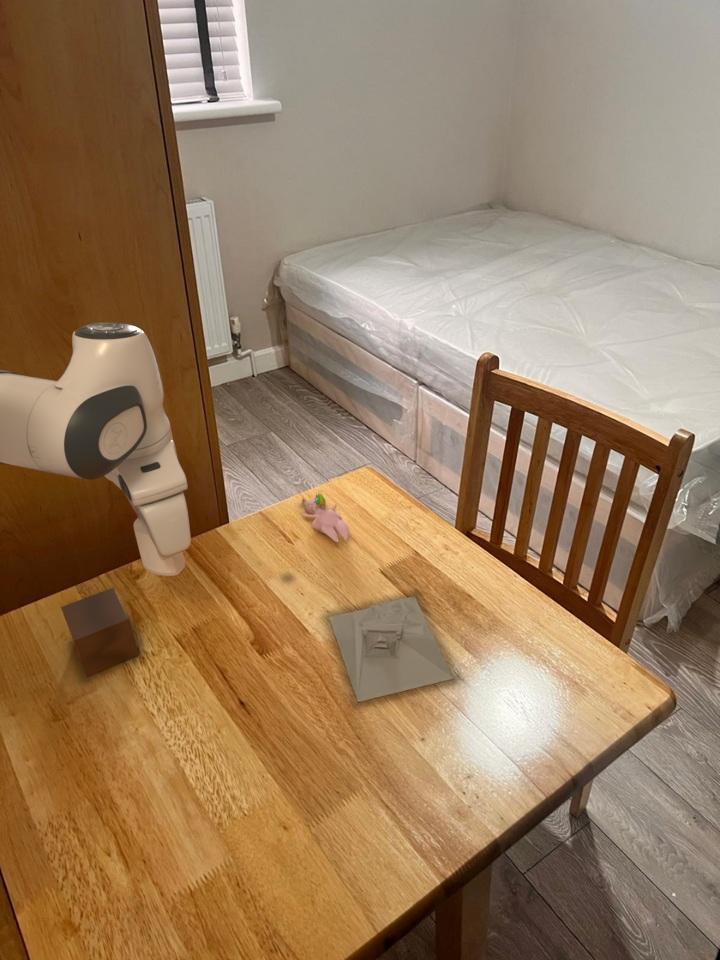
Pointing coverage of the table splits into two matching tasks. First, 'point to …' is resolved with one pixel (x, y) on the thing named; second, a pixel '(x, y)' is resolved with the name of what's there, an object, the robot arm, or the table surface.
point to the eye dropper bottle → (156, 554)
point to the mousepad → (389, 649)
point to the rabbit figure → (325, 518)
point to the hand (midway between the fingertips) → (158, 541)
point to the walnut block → (100, 631)
